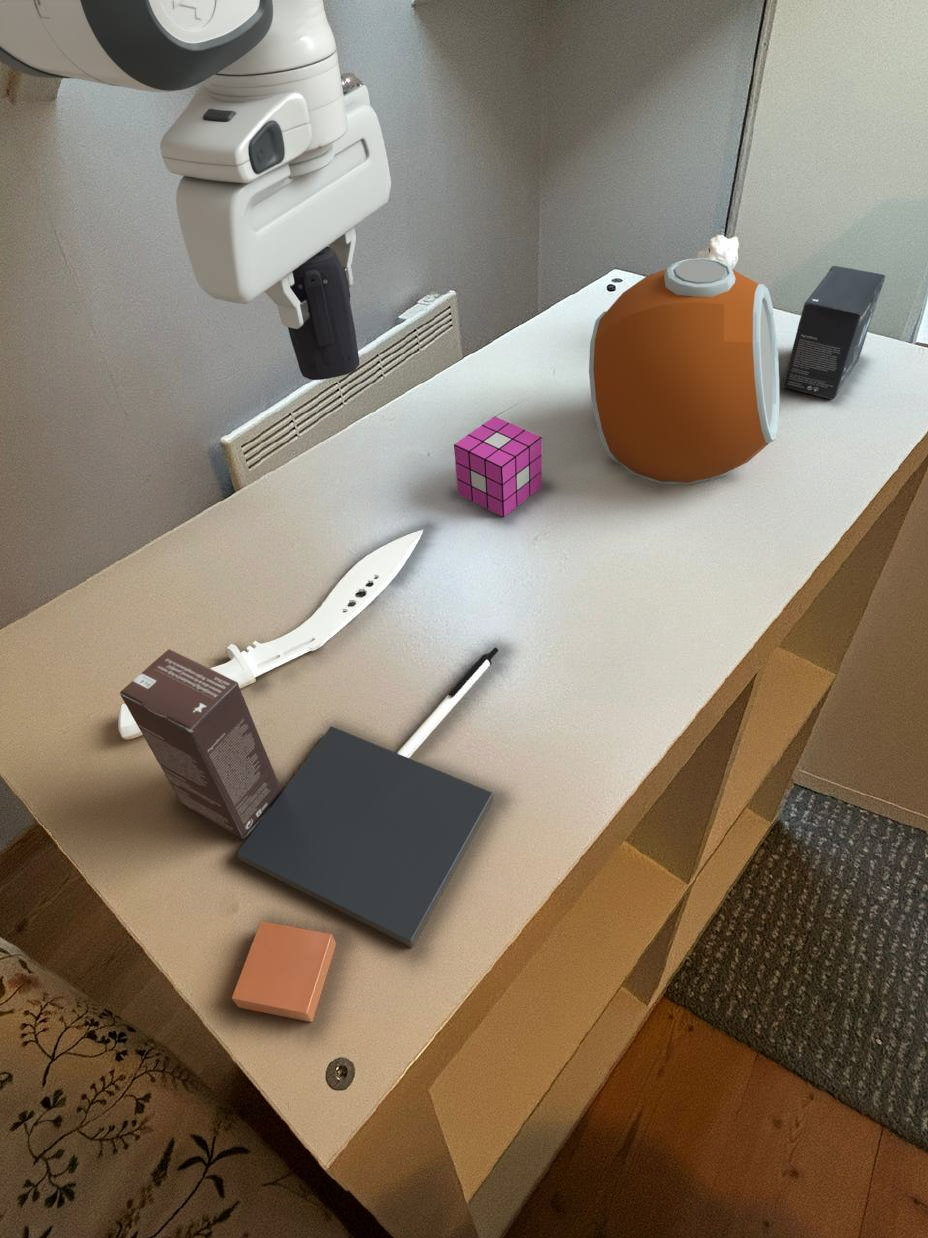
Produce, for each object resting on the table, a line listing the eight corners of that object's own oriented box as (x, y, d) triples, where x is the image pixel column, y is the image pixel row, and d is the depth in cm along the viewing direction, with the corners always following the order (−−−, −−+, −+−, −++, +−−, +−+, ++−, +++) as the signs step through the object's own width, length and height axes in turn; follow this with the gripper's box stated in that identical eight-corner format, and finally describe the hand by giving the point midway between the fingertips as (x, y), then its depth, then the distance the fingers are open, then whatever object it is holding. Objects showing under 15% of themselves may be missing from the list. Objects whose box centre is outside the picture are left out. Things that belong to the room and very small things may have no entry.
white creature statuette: (668, 317, 98) (680, 212, 89) (742, 326, 95) (763, 219, 87) (649, 357, 92) (661, 249, 83) (728, 368, 89) (748, 258, 81)
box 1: (287, 790, 57) (240, 680, 48) (243, 842, 54) (186, 737, 45) (223, 754, 59) (167, 644, 50) (178, 803, 57) (111, 696, 48)
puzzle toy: (542, 487, 78) (542, 436, 73) (503, 518, 75) (501, 467, 71) (496, 465, 80) (494, 415, 76) (457, 494, 78) (452, 444, 74)
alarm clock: (761, 521, 72) (809, 338, 60) (566, 492, 77) (572, 316, 64) (777, 403, 84) (819, 230, 72) (608, 384, 89) (620, 218, 76)
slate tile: (239, 860, 53) (235, 853, 53) (333, 733, 60) (330, 725, 59) (412, 949, 49) (410, 942, 48) (494, 800, 55) (493, 792, 54)
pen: (501, 655, 64) (500, 645, 63) (338, 842, 54) (335, 834, 53) (491, 650, 64) (491, 641, 64) (328, 835, 54) (325, 827, 53)
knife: (421, 520, 74) (469, 566, 69) (423, 535, 75) (470, 581, 70) (89, 668, 63) (119, 734, 58) (97, 682, 64) (127, 748, 60)
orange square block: (238, 1007, 47) (231, 998, 46) (266, 931, 50) (260, 920, 49) (312, 1022, 46) (306, 1014, 45) (336, 943, 49) (331, 933, 48)
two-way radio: (359, 354, 71) (325, 169, 60) (369, 381, 68) (334, 192, 57) (296, 367, 70) (249, 182, 59) (303, 395, 67) (254, 206, 56)
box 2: (835, 402, 84) (862, 313, 77) (780, 389, 86) (801, 301, 79) (860, 359, 89) (887, 272, 82) (808, 348, 91) (830, 262, 84)
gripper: (326, 62, 62) (356, 247, 72) (139, 153, 50) (206, 360, 60) (398, 66, 60) (418, 257, 70) (220, 164, 48) (275, 376, 58)
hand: (319, 306), depth 65 cm, fingers closed on two-way radio, 5 cm apart
